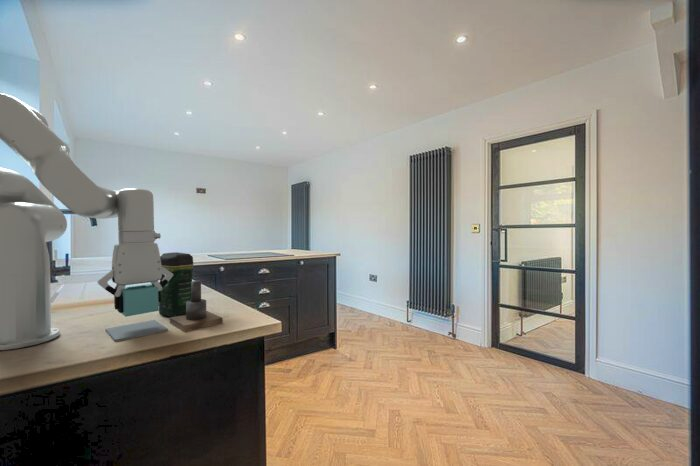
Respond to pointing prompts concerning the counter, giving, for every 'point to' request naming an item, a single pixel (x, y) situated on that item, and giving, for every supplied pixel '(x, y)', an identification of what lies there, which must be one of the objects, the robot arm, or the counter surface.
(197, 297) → the peg stand
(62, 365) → the counter surface
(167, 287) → the coffee jar
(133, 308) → the teal boxy piece
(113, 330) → the mat
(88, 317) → the counter surface
